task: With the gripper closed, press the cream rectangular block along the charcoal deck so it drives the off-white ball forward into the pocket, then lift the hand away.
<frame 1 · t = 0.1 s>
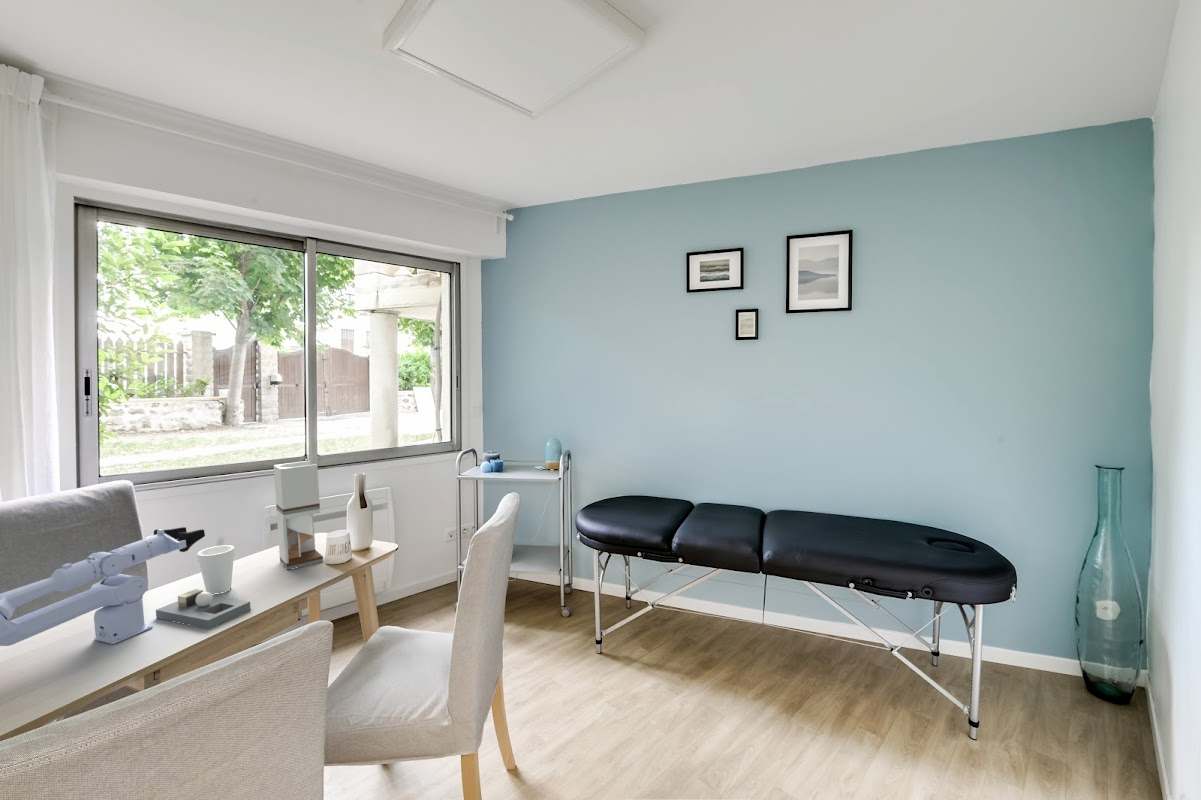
hand: (194, 531, 165), 22 cm above the table, tool horizontal, fingers open, 7 cm apart
deck: (204, 614, 159), on the table
foam cup: (219, 591, 175), on the table
ball: (204, 599, 158), point 4 cm above the table, touching deck
white coffee grinder: (301, 562, 199), on the table
cream rectangular block: (191, 598, 160), point 4 cm above the table, slide at 0.0 cm
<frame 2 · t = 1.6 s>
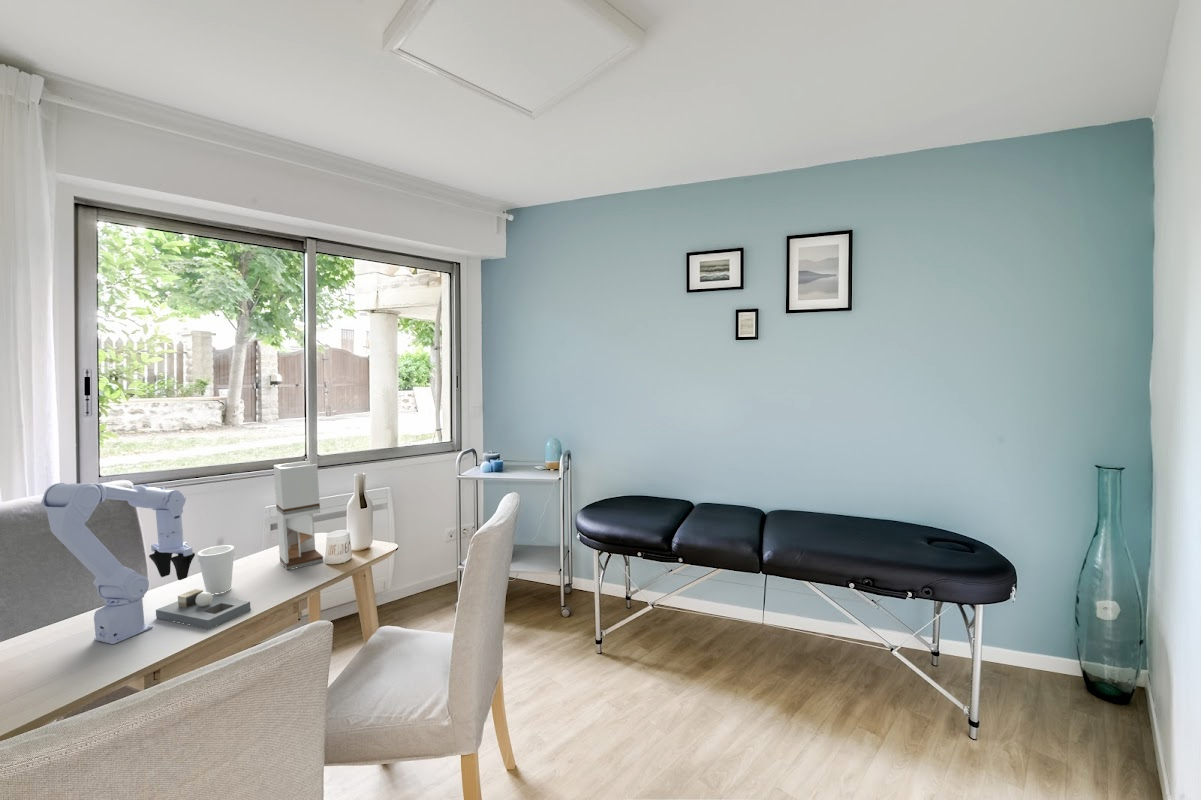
hand: (173, 577, 162), 9 cm above the table, tool pointing down, fingers open, 7 cm apart
nothing on the table moved.
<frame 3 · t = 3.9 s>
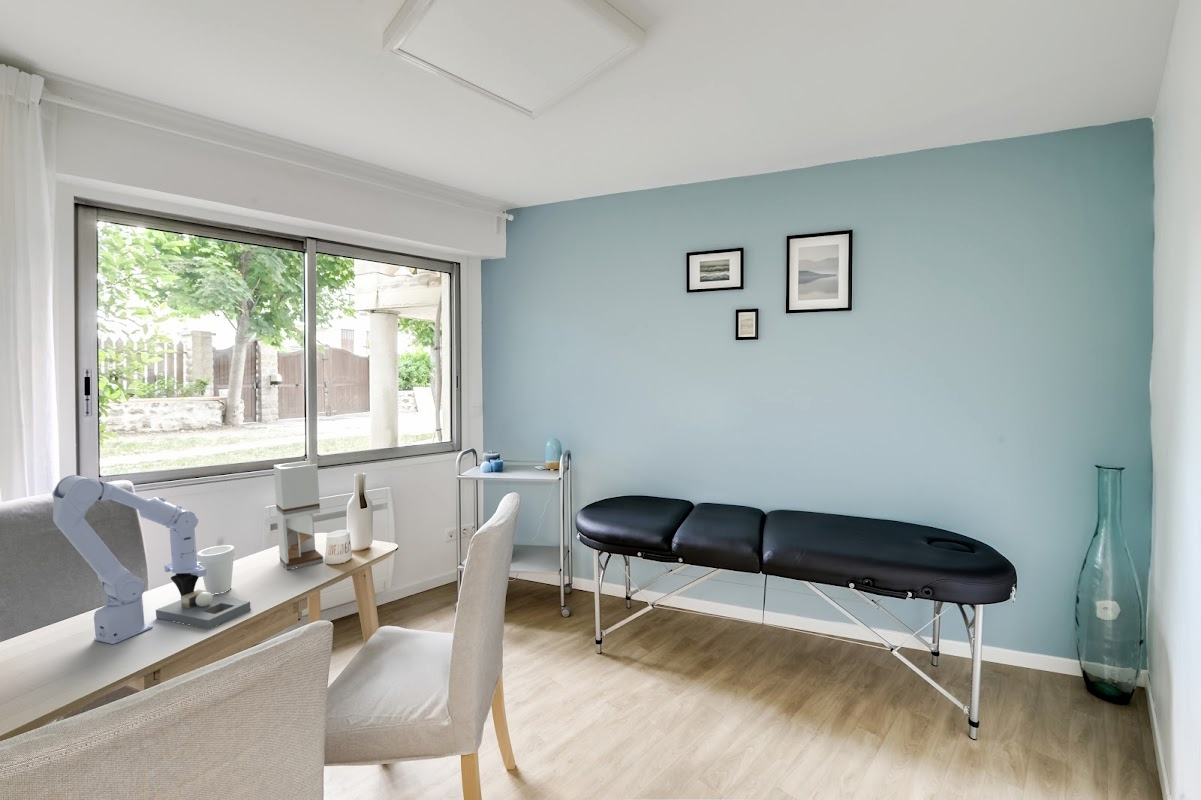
hand: (187, 598, 160), 4 cm above the table, tool pointing down, fingers closed
cream rectangular block: (194, 598, 159), point 4 cm above the table, slide at 1.3 cm, touching gripper
everything else where it was.
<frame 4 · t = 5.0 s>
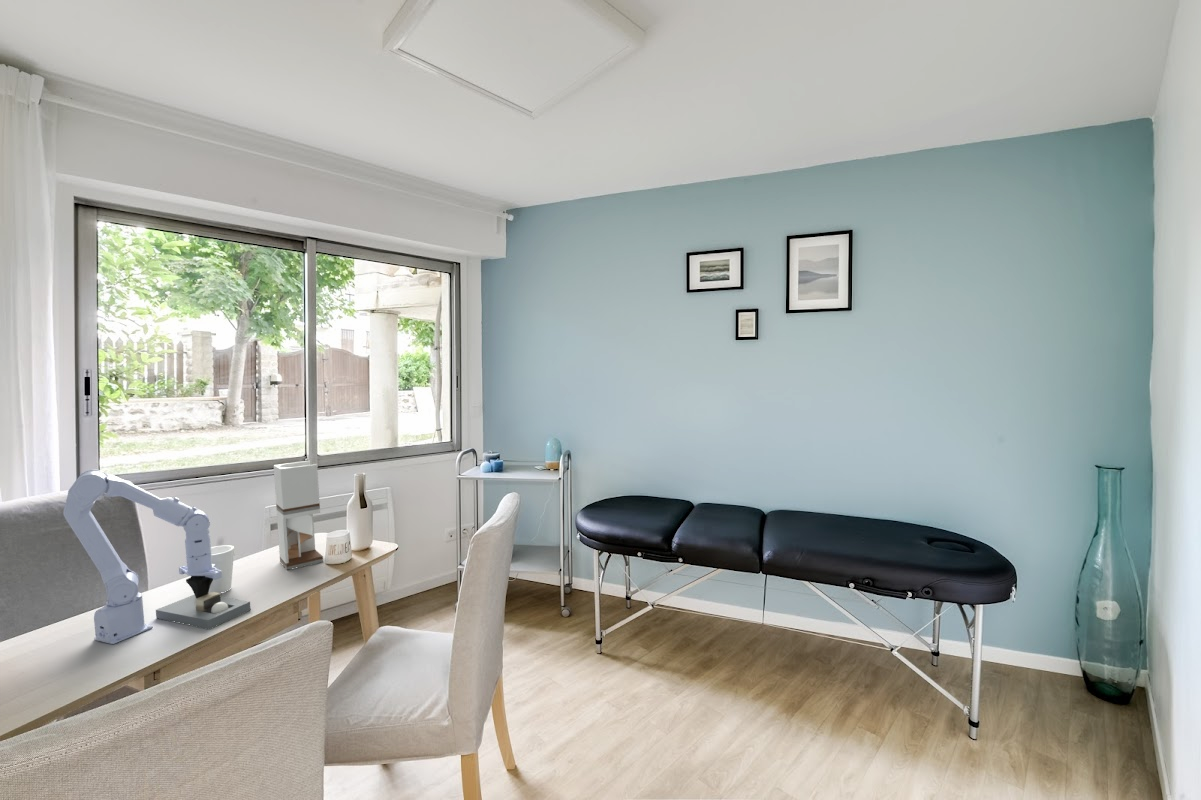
hand: (202, 600, 158), 4 cm above the table, tool pointing down, fingers closed
ball: (219, 609, 156), point 2 cm above the table, tilted 169°, touching deck
cream rectangular block: (208, 601, 157), point 4 cm above the table, slide at 7.1 cm, touching gripper
everything else where it was.
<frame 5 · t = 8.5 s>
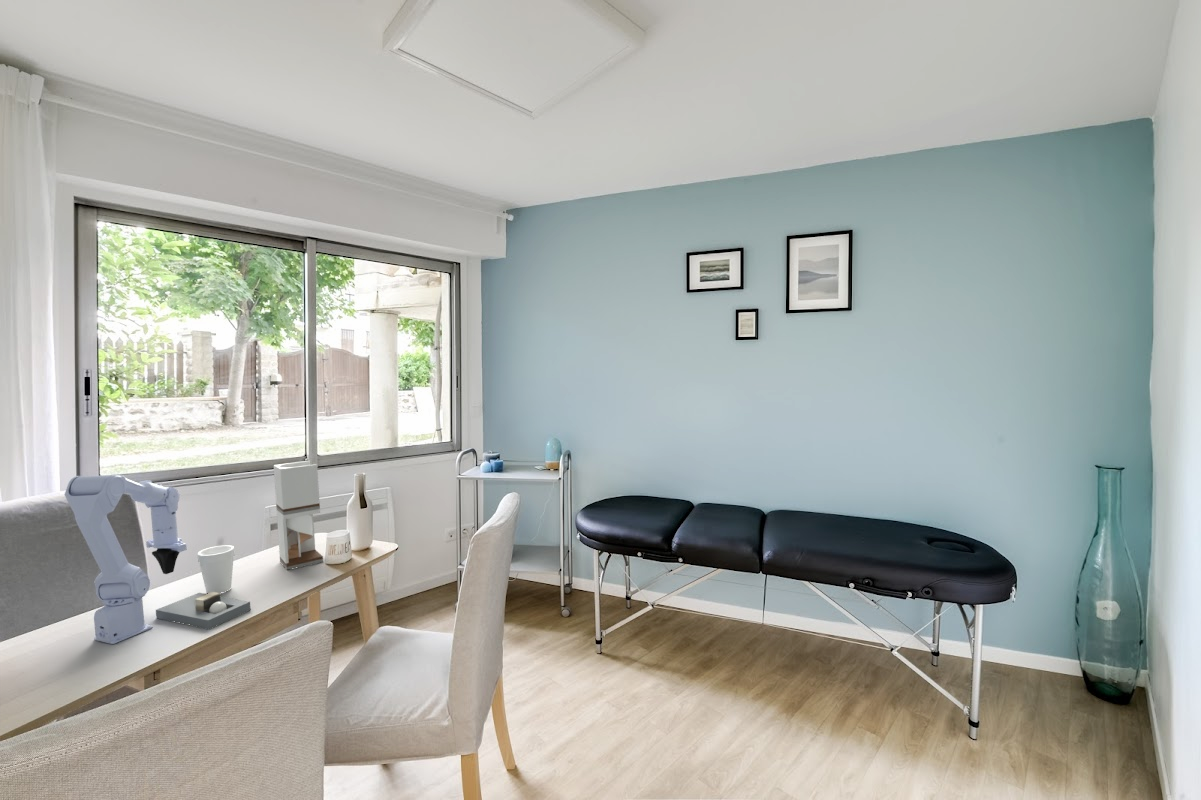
hand: (168, 572, 166), 9 cm above the table, tool pointing down, fingers closed
ball: (218, 609, 156), point 2 cm above the table, tilted 171°, touching deck, cream rectangular block
cream rectangular block: (208, 601, 158), point 4 cm above the table, slide at 7.0 cm, touching ball
everything else where it was.
at the end: ball 0.2 cm from the target spot on the deck, point 2.3 cm above the deck's base; cream rectangular block slide at 7.0 cm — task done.
